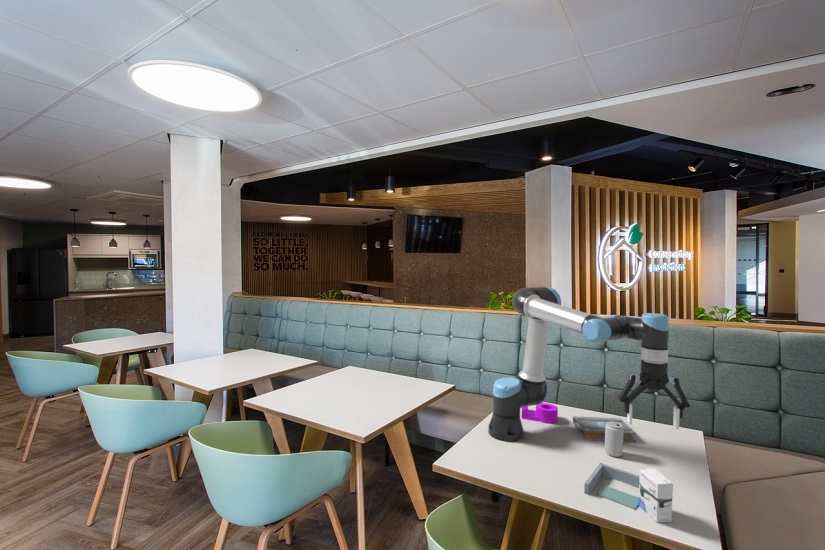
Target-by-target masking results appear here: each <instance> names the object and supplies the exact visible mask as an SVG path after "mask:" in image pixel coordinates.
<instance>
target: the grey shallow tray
mask: <svg viewBox="0 0 825 550" xmlns="http://www.w3.org/2000/svg"><path fill="white" fill-rule="evenodd" d="M609 421H613V422H618V423H620V424H622V425H623V429H624V432H623V442H628V443H629V442H630V443H637V440H636V439H635V438H634V437H633V435H637V433H636V432H635V431H634V430H633V429H632V428H631V427H630V426H629V425H628V424H627V422H624V421H623V420H622V419H621V418H613V417H595V416H575V415H573V417H572V424H573V426H574V427H575V429H576V430H577V432H578V433H579V434H580V435H581V437H582V438H583V440H590V441H591V440H592V441H593V440H596V441H605V425H606V424H607V422H609Z"/></svg>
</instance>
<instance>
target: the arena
mask: <svg viewBox="0 0 825 550" xmlns="http://www.w3.org/2000/svg"><path fill="white" fill-rule="evenodd" d="M602 476H604V477H608V478H610V479H613V480H616V481H619V482H622V483H624V484H626V485H630V486H632V487H635V488H638V489H639V478H640V475H638V474H635V473H632V472H629V471H626V470H622V469H619V468H617V467H614V466H610V465H608V464H605V463H601V462H600V463H599V464H598V465H597V466H596V467H595V469H594V470H593V471H592V473H591V474H590V475H589V476H588V478H587V479H586V480H585V482H584V487H583V488H584V492H583V493H584V494H585V495H589V494H590V493H591V491H593V489H594V488H595V486H596V484H597V483H598V482H599V480H600V479H601V478H602Z"/></svg>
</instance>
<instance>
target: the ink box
mask: <svg viewBox="0 0 825 550" xmlns="http://www.w3.org/2000/svg"><path fill="white" fill-rule="evenodd" d="M639 476H640V478H639V488H638V498H639V500H638V506H639V507H640V508H641V509H642V510H643V511H644V512H645V513H646V514H647V515H648V516H649V517H650V518H652V519H653V521H654V522H655V523H672V514H673V494H674V493H673V491H674V484H673V483H672V481H670V480H669V479H668V478H667V477H666V476H665V475H663V474H662V473H661V472H660V471H658V470H657V469H656V468H641V469H640V468H639Z"/></svg>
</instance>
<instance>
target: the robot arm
mask: <svg viewBox="0 0 825 550" xmlns="http://www.w3.org/2000/svg"><path fill="white" fill-rule="evenodd" d="M511 303H512V307H513V309H514V311H515V312H517V313H518V314H519V315H522V316H524V317H526V318H527V319H528V324H527V333H526V340H525V341H526V342H525V349H524V356H523V364H522V365H523V366H522V370H520V371H519V372H518V377H517V378H516V377H501V378H499V379H496V380H495V381H494V383H493V389H492V416H491V419H490V422H489V424H488V427H487V428H488V429H487V431H488V434H489V435H490V436H491V437H492V438H494V439H496V440H498V441H499V440H500V441H503V442H504V441H505V442H517V441H520V440H522V439H523V438H524V435H525V434H524V433H525V430H524V426H523V422H522V420H521V419H522V418H521V409H522V408H523V407H527V406H528V407H531V406H536V405H538V404H540V403H545V402H546V401H547V400H548V398H549V396H550V387H549V386H548V385H549V384H548V381H547V380H546V377H545V375H544V374H543V373H544V365H545V357H546V349H547V343H548V342H547V341H548V334H549V328H550V324H553V325H555V326H558V327H562V328H564V329H566V330H569V331H572V332H575V333H578V334H581V335H583V336H584V338H585V339H586V340H588V342H592V343H604V342H608V341H613V340H614V341H615V340H616V341H617V340H623V339H629V340H635V341H640V342H641V343H640V344H641V345H640V346H641V347H640V358H641V360H640V372H639V373H640V374H639V375H638V374H634V373H633V372H632V373H631V372H630V373H629V375H628V376H629V377H628V380H627V381H626V383H625V385H624V387H623V389H621V392H620V394H619V395H618V396H617V397H618V400H619V401H620V402H621V403H624V408H623V411H624V412H625V414H627V415H626V417H627V418H626V420H627V422H626V423H628V424H629V425H633V404H632V402H633V401H634V400H635V399H636V398H637V397H639V396H640V395H641V394H642V393H643V392H645V391H646V390H649V391H654V390H655V391H661V390H663V391H664V393H665V394H666V395H667V396H668V397H669V398H670V399H671V401H672V402H673V403H674V404H675V405H673V412H672V413H673V414H672V415H673V418H672V421H673V422H672V425H673V427H674V429H676V430H680V419H683V418H684V417H683V414H684V410H685V408H688V409H689V408H690V407H691V404H690V403H689V400H688V399H687V397H686V395H685V393H684V390H683V389H682V387H681V385H680V380H679V378H678V377H677V376H674V375H673V376H668V374H669V372H668V371H669V364H668V363H667V362H668V361H669V332H670V322H669V317H668V315H666V314H663V313H653V312H652V313H651V312H646V313H642V315H641V317H634V316H627V315H621V314H617V315H616V314H612V315H610V316H609V317H600V316H596V315H593V314H591V313H588V312H583V311H581V310H578V309H575V308H571V307H569V306H566V305H565V306H564V305H562V299H561V295H560V294H559V292H558V291H557V290H556V289H554V288H553V287H549V286H535V287H534V286H533V287H532V286H531V287H523V288H522V287H521V288H520V289H518V290H516V292H515V293H513V296H512V299H511ZM638 380H639V381H640V383H638V384H637V386H636V387H635V388H634V389H633V390H632V388H633V386H635V383H636V382H637V381H638ZM669 382H670V384H671V385H672V386H673V388H674V390H675V392H676V394H677V396H678V397H679V399H680V401H681V402H680V401H679V400H678V398H677V397H676V396H675V395H674V394H673V393H672V392H671V391H670V389H669V388H668V387H667V384H669ZM631 390H632V391H631Z"/></svg>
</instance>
